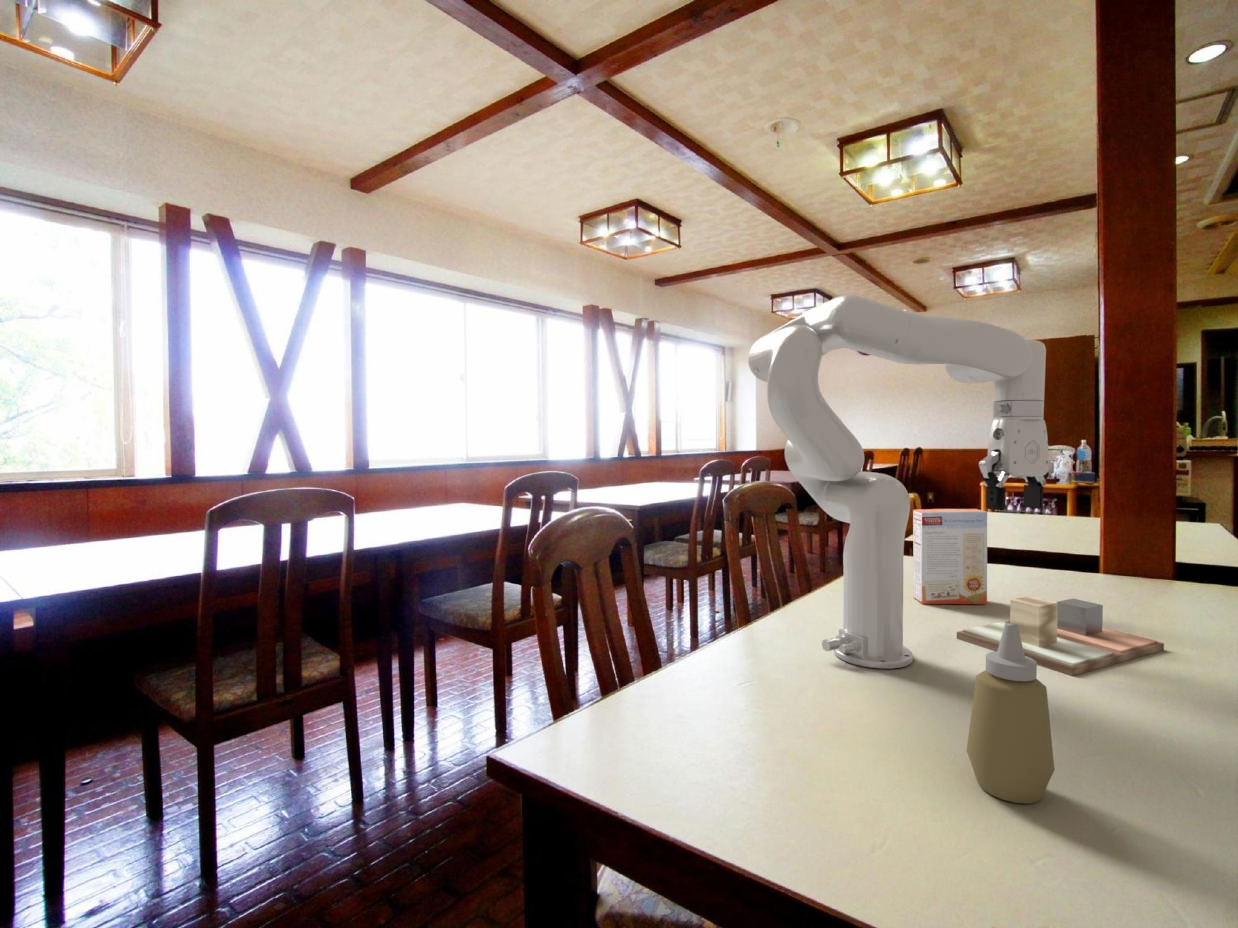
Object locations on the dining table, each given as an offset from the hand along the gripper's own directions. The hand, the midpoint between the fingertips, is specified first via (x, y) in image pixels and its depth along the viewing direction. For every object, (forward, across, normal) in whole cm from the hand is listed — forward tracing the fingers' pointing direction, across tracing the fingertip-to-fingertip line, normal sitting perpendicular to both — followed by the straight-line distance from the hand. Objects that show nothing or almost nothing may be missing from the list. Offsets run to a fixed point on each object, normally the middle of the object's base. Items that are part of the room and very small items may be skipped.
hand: (1014, 508), depth 111 cm
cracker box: (+25, +15, +25) cm, 39 cm away
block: (+23, +2, -3) cm, 23 cm away
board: (+24, +8, -3) cm, 26 cm away
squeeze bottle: (+26, -43, -30) cm, 59 cm away
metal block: (+23, +15, -3) cm, 27 cm away
